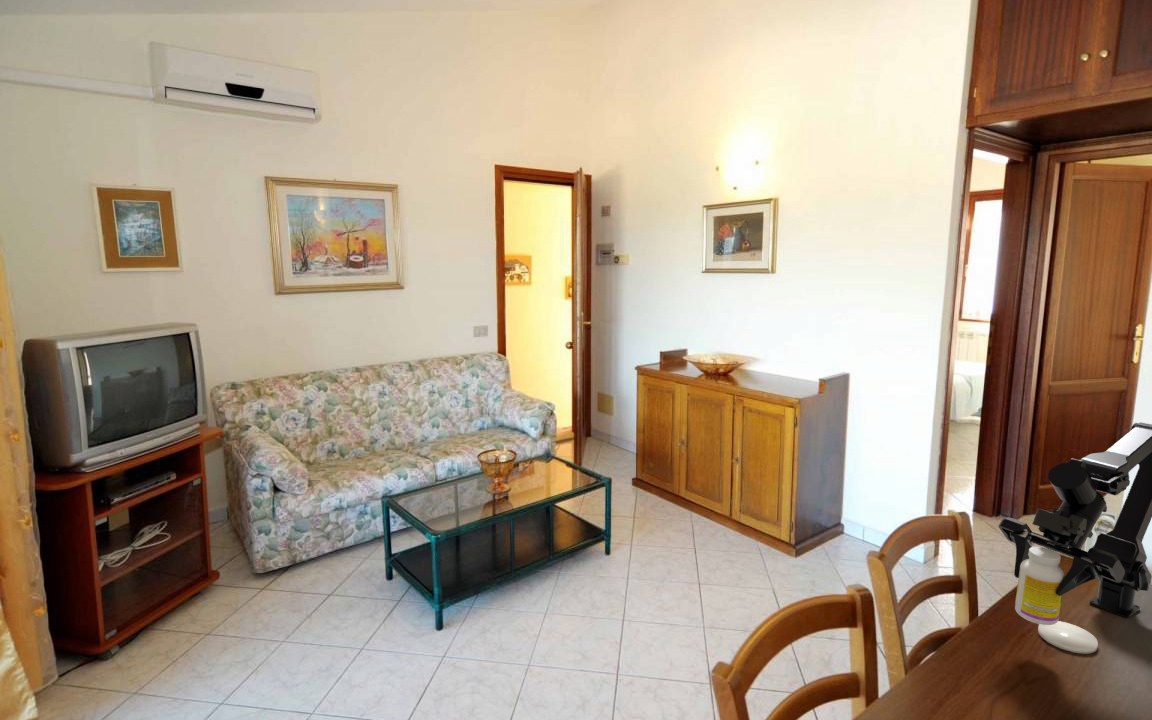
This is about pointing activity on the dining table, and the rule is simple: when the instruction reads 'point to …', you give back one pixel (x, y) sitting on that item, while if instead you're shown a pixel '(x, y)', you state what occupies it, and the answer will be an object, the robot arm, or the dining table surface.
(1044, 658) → the dining table surface
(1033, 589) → the supplement bottle
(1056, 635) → the coaster
